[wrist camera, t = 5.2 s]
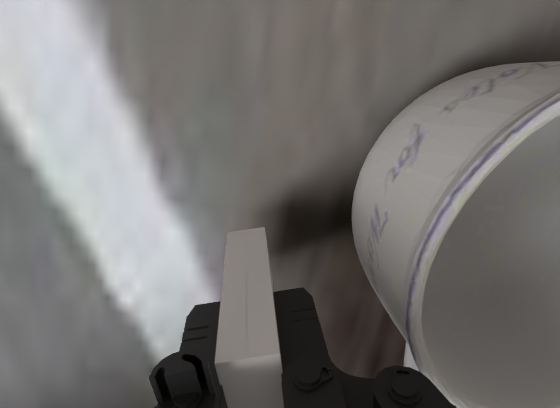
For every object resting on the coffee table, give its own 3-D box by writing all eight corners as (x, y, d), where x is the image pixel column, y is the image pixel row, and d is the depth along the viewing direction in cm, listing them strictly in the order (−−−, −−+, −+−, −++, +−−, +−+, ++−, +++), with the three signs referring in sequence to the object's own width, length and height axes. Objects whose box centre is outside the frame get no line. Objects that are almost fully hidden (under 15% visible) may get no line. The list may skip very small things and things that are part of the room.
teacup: (426, 1, 13) (646, -63, 6) (613, 131, 16) (920, 195, 9) (259, 286, 18) (272, 452, 10) (431, 351, 20) (538, 519, 13)
